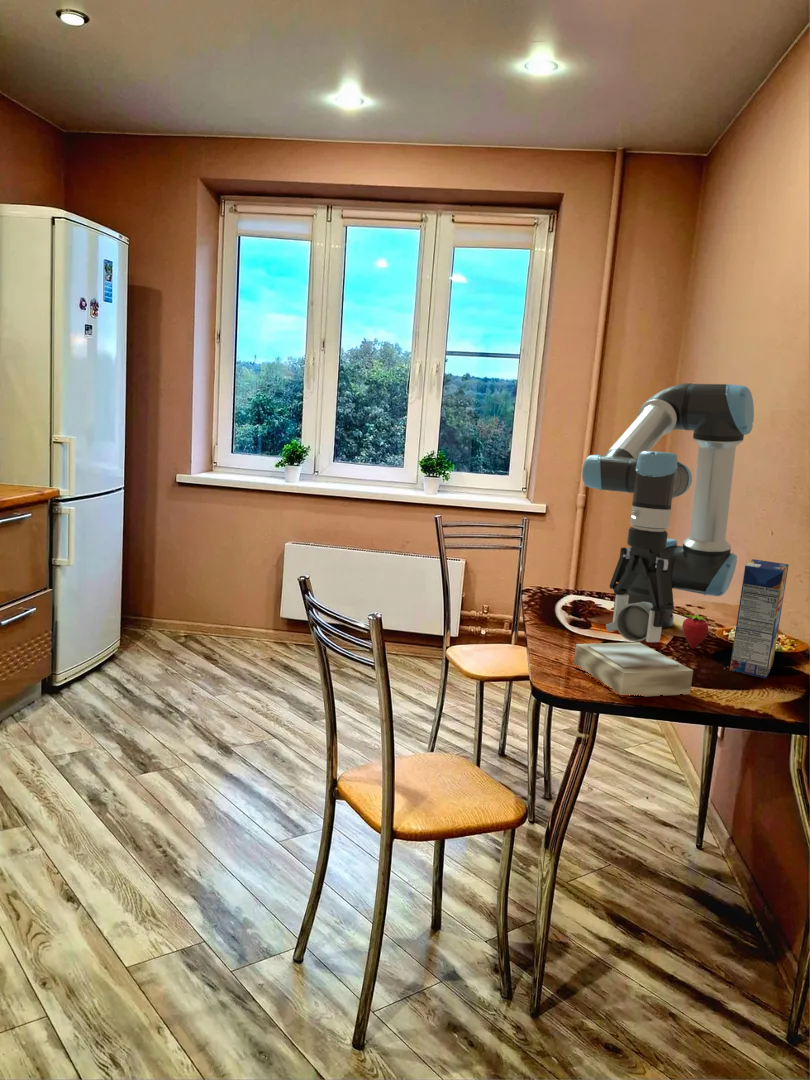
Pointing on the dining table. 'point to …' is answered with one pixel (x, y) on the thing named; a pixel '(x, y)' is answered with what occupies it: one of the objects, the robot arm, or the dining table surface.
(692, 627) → the strawberry
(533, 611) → the dining table surface
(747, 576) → the juice carton
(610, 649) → the cream flat rectangular piece
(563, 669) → the dining table surface
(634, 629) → the ceramic mug
